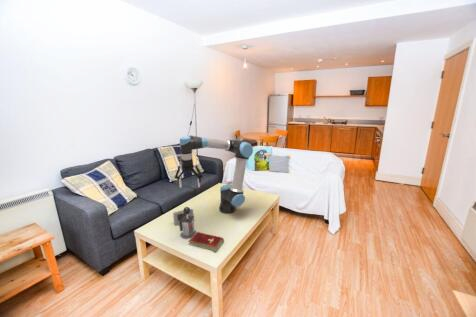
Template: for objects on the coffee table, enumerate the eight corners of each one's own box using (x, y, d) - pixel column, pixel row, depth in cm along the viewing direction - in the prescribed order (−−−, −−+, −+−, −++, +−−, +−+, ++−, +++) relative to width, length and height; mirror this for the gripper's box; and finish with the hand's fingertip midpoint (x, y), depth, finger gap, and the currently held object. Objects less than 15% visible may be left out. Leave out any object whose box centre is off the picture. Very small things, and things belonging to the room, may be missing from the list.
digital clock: (173, 226, 173) (172, 214, 171) (174, 221, 182) (173, 209, 179) (194, 224, 176) (193, 212, 174) (194, 218, 185) (193, 207, 182)
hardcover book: (197, 236, 162) (197, 231, 161) (223, 242, 154) (223, 237, 153) (188, 245, 151) (188, 240, 150) (215, 253, 144) (215, 247, 142)
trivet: (198, 230, 168) (198, 229, 168) (194, 240, 156) (194, 239, 156) (183, 230, 169) (183, 229, 168) (178, 239, 157) (178, 238, 157)
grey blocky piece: (195, 230, 166) (194, 215, 163) (192, 237, 158) (191, 221, 155) (182, 230, 167) (181, 215, 163) (179, 237, 159) (177, 221, 155)
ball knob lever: (192, 229, 164) (190, 205, 159) (190, 233, 159) (189, 209, 154) (186, 229, 164) (184, 205, 159) (184, 233, 159) (182, 208, 154)
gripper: (205, 157, 157) (207, 184, 162) (171, 157, 157) (174, 185, 163) (203, 159, 149) (206, 188, 155) (167, 160, 150) (171, 189, 156)
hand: (189, 186), depth 159 cm, fingers open, 13 cm apart
